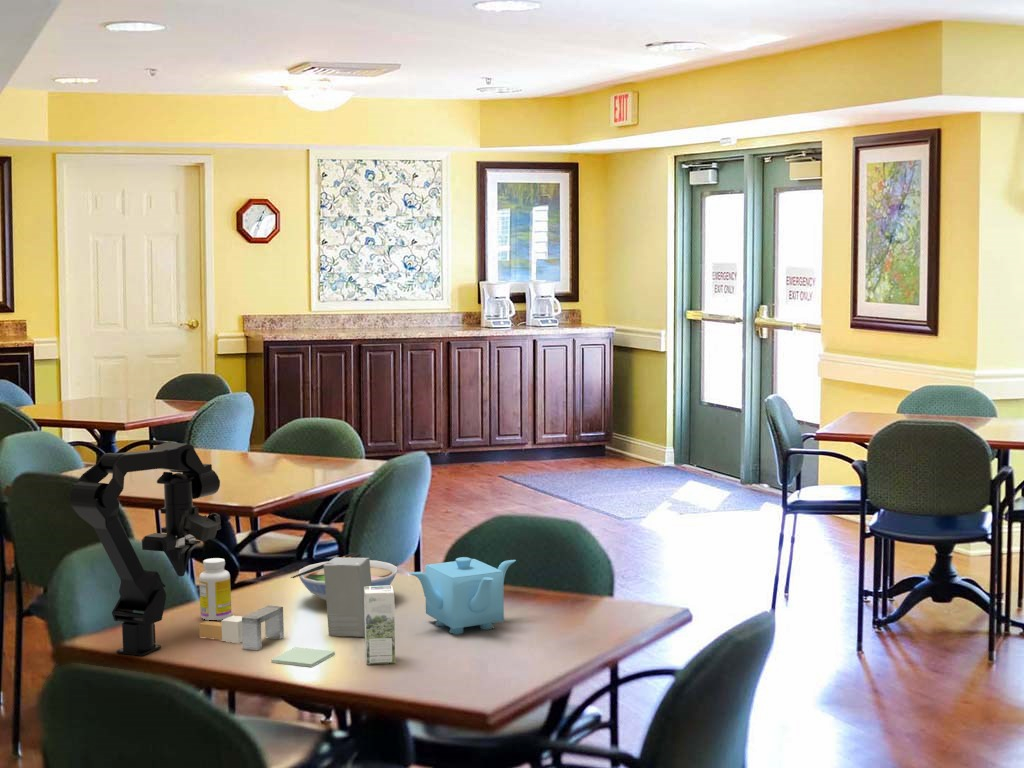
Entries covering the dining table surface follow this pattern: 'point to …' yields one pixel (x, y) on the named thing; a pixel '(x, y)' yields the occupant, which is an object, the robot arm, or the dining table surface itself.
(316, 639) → the dining table surface
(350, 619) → the skincare box
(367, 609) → the syrup box
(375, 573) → the ramen bowl
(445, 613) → the teakettle
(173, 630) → the dining table surface
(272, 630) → the grey bridge block
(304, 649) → the pad
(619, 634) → the dining table surface
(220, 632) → the plug
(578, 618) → the dining table surface
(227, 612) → the supplement bottle
